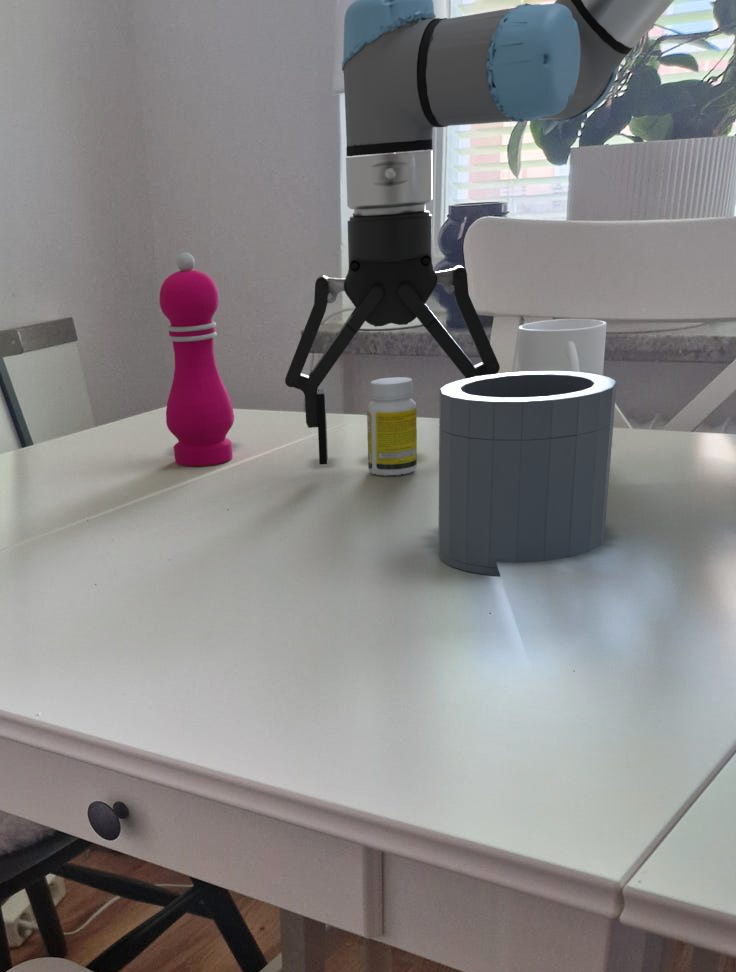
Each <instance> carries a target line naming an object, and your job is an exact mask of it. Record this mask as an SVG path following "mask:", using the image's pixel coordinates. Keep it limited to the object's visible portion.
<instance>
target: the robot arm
mask: <svg viewBox="0 0 736 972" xmlns="http://www.w3.org/2000/svg"><path fill="white" fill-rule="evenodd" d="M673 2H675V0H555V2H554V3H544V4H542V3H541V4H540V3H534V4H532V3H531V4H530V3H524V4H518V5H516V6H515V7H511V8H504V9H498V10H497V9H496V10H492V11H486V12H480V13H475V14H468V15H462V16H455V17H449V18H448V17H443V18H438V17H437V18H436V16H437V15H436V14H435V7H434V1H433V0H355V1H353V2H352V3H350V5H349V6H348V7H347V9H346V11H345V14H344V20H343V56H342V59H343V60H342V62H341V72H342V74H343V81H344V82H343V85H344V86H343V88H344V90H343V91H344V109H345V110H344V111H345V113H344V114H345V134H346V135H345V137H346V138H345V139H346V150H345V151H346V154H345V155H346V157H345V173H346V175H345V176H346V202H347V203H346V204H347V205H346V206H347V208H349V209H350V210H353V213H352V216H349V220H347V248H348V249H347V250H348V251H347V252H348V253H347V256H348V257H347V258H348V270H347V274H346V276H345V277H328V276H327V275H325V274H320V275H319V276H317V278H316V280H315V282H314V300H313V306H312V308H311V311H310V313H309V316H308V318H307V321H306V324H305V326H304V329H303V332H302V334H301V337H300V338H299V339H300V340H299V341H298V344H297V346H296V349H295V352H294V355H293V357H292V359H291V362H290V365H289V368H288V370H287V373H286V376H285V378H284V383H285V385H286V386H287V387H289V388H294V389H297V390H300V391H301V392H302V393H303V394H304V407H305V409H304V411H305V423H306V426H307V428H308V429H311V428H317V435H318V436H317V438H318V439H317V440H318V462H319V465H328V461H329V452H328V451H329V450H328V424H327V401H326V400H327V397H326V388H319V387H320V385H321V384H322V382H323V381H324V380H325V378H326V377H327V375H328V374H329V372H331V369H332V368H333V367H334V365H335V364H336V363H337V361H338V360H339V358H340V357H341V356H342V354H343V353H344V351H345V349H346V348H347V347H348V346H349V344H350V343H351V341H352V340H353V338H354V337H355V335H357V333H358V332H359V331H360V329H361V328H362V326H363V325H364V324H365V322H366V323H367V324H368V325H370V326H373V327H384V326H387V325H389V324H392V325H393V324H394V325H398V326H404V325H405V326H407V325H409V323H412V322H413V321H415V320H416V319H417V320H418V321H419V322H420V324H421V325H422V327H424V328H425V330H427V332H428V333H429V334H430V336H431V337H432V338H433V339H434V341H435V342H436V343H437V344H438V345H439V347H440V348H441V349H442V350H443V352H444V353H445V354H446V356H447V357H448V358H449V360H451V361H452V363H453V364H454V365H455V367H456V368H457V369H458V371H460V373H461V374H462V375H463V376H464V379H466V378H471V377H477V376H483V375H492V374H499V372H500V368H501V366H500V363H499V361H498V358H497V356H496V354H495V352H494V350H493V347H492V345H491V343H490V340H489V338H488V336H487V334H486V331H485V329H484V327H483V324H482V322H481V320H480V319H481V318H480V317H479V314H478V313H477V310H476V308H475V306H474V304H473V301H472V299H471V296H470V294H469V286H468V285H469V284H468V273H467V270H466V269H465V267H463V266H462V265H460V264H458V265H455V266H453V268H449V269H444V270H438V271H436V270H435V268H434V265H433V214H431V212H430V210H426V204H430V203H431V201H432V200H433V141H434V140H433V138H434V128H447V127H451V126H453V127H454V126H466V125H482V124H494V123H513V122H514V123H523V122H531V121H539V120H541V121H542V120H545V121H547V120H548V121H551V122H552V121H553V122H561V121H563V122H564V121H570V120H573V119H576V118H579V117H581V116H583V115H586V114H588V113H590V112H592V111H593V110H595V109H596V108H598V107H599V106H600V105H601V104H602V103H603V102H604V100H605V99H606V98H607V97H608V96H609V94H610V92H611V90H612V88H613V86H614V84H615V82H616V79H617V74H618V71H619V66H620V64H621V63H622V62H623V61H624V59H625V58H626V57H627V56H628V54H629V53H630V52H631V51H632V50H633V49H634V47H636V45H637V44H638V43H639V42H640V40H642V38H643V37H644V36H645V35H646V34H647V32H648V31H649V30H651V28H652V27H653V26H654V24H655V23H656V22H657V21H658V20H659V19H660V17H661V16H662V15H663V14H664V13H665V12H666V10H668V8H669V7H670V6H671V5H672V3H673ZM438 285H439V286H442V287H443V289H444V292H445V293H446V294H447V295H449V296H454V297H453V298H454V300H455V303H456V305H457V308H458V310H459V312H460V314H461V317H462V319H463V321H464V323H465V326H466V328H467V330H468V333H469V334H470V337H471V339H472V341H473V344H474V346H475V348H476V351H477V353H478V355H479V358H480V360H481V362H478V363H476V364H474V363H473V362H472V360H471V359H470V358H469V356H468V355H467V354H466V353H465V352H464V350H463V349H462V348H461V347H460V345H459V344H458V343H457V341H456V340H455V339H454V338H453V336H452V335H451V334H450V333H449V332H448V330H447V328H445V326H444V325H443V324H442V323H441V321H440V320H439V319H438V318H437V316H436V315H435V314H434V312H433V311H432V310H431V308H430V307H429V306H428V305H427V302H428V301H429V298H430V297H431V296H432V294H433V292H434V291H435V289H436V287H437V286H438ZM341 292H344V293H345V295H346V296H347V298H348V299H349V300H350V302H351V303H352V305H353V306H354V307H355V308H354V309H353V310H352V312H351V314H350V315H349V316H348V318H347V319H346V321H345V322H344V324H343V325H342V327H341V329H339V331H338V332H337V333H336V336H335V337H334V338H333V340H332V341H331V343H330V344H329V345H328V347H327V348H326V350H325V352H324V353H323V354H322V355H321V357H320V358H319V360H318V361H317V363H316V365H315V366H314V367H313V369H311V371H310V373H309V374H305V373H302V372H303V369H304V367H305V365H306V362H307V359H308V357H309V354H310V352H311V350H312V347H313V345H314V342H315V340H316V337H317V335H318V331H319V329H320V326H321V324H322V321H323V319H324V316H325V313H326V311H327V307H328V304H333V303H335V301H336V300H337V297H338V295H339V294H340V293H341Z"/></svg>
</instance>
